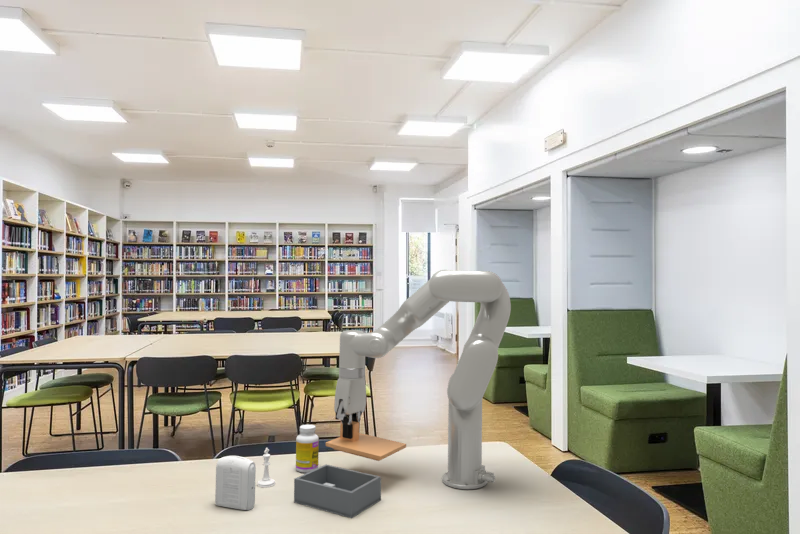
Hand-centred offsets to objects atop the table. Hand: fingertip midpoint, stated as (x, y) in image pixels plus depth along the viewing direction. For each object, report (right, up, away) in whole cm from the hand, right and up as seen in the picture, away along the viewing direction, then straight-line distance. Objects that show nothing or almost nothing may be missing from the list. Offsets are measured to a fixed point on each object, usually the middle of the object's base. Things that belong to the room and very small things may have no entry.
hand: (350, 436), depth 165 cm
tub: (-2, -11, -19) cm, 22 cm away
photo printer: (-27, -11, -22) cm, 37 cm away
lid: (+5, -2, -3) cm, 6 cm away
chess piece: (-23, -11, -7) cm, 26 cm away
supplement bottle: (-13, -12, +4) cm, 18 cm away
